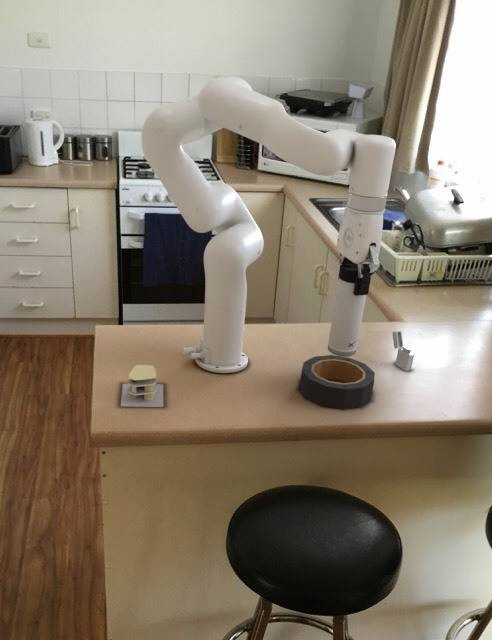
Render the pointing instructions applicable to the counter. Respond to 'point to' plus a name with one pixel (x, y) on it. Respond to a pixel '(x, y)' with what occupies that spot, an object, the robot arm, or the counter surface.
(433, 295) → the counter surface
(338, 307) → the travel mug
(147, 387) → the stacked layers on plate
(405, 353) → the lighter
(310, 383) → the tape roll
